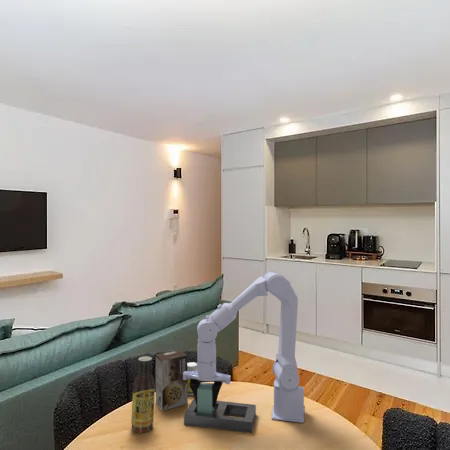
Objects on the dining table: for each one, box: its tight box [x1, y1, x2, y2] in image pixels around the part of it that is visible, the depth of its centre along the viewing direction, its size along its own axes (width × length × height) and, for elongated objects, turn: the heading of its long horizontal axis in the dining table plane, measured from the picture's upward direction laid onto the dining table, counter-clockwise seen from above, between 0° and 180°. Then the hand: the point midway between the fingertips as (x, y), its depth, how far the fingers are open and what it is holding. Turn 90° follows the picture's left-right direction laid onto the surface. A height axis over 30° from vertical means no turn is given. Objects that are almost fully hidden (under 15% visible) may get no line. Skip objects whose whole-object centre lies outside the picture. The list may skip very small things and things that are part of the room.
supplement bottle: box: [187, 361, 197, 396], centre depth 122 cm, size 5×5×10 cm
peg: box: [197, 381, 215, 415], centre depth 105 cm, size 4×4×8 cm
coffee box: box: [155, 349, 189, 412], centre depth 114 cm, size 9×6×16 cm
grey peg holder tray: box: [183, 397, 257, 434], centre depth 104 cm, size 20×10×3 cm, turn 78°
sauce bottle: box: [130, 355, 156, 434], centre depth 100 cm, size 6×6×20 cm
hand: (206, 404), depth 105 cm, fingers closed on peg, 4 cm apart
